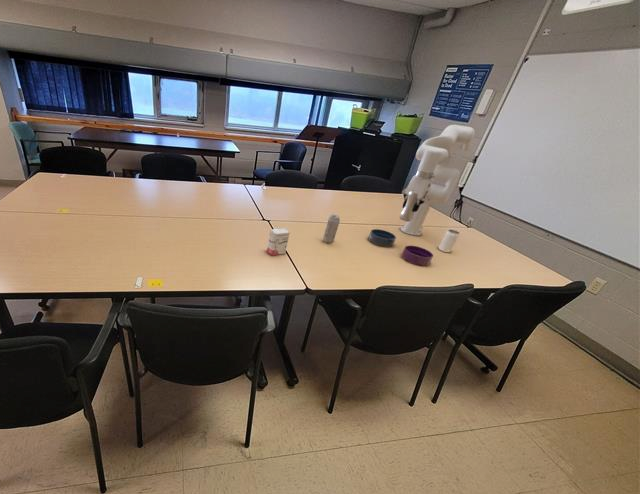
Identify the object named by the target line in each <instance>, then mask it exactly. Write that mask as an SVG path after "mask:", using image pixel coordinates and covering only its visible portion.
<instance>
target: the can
mask: <svg viewBox="0 0 640 494" xmlns="http://www.w3.org/2000/svg"><path fill="white" fill-rule="evenodd" d="M459 236H460V232H459V231H457V230H454V229H448V230H447V231H446V233H445V234H444V236H443V238H442V240H441V242H440V244H439V246H438V250H440V251H441V252H443V253H451V251H452V250H453V248H454V246H455V244H456V242H457V240H458V238H459Z"/></svg>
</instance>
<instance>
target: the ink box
mask: <svg viewBox="0 0 640 494" xmlns="http://www.w3.org/2000/svg"><path fill="white" fill-rule="evenodd" d="M289 237H290V231H288V229H286V228H284V227H283V228H272V229H270V231H269V236H268V242H267V248H266V252H267V253H268V254H269V255H271V256H276V255H283V254H286V252H287V248H288V247H287V246H288V242H289Z"/></svg>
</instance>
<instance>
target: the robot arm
mask: <svg viewBox="0 0 640 494" xmlns="http://www.w3.org/2000/svg"><path fill="white" fill-rule="evenodd" d="M475 136H476V132H475V128H473V127H471V126H466V125H461V124H450V125H447V126H446V128H444V129H443V131H442V132H441V133H440V135H438V136H433V137H430V138H427V139H426V140H424V141H423V142H422V143H421V145H420V146H419V147H418V149H417V150H416V153H415V159H416V160H418V161H420V163H419V165H418V166H417V170H416V173H415V175H413V176H412V178H411V179H410V181H409V183H408V185H407V187H406V188H405V189H403V190H402V191H401V193H402V196H403V200H404V202H403V204H402V208H403V209H404V207H405V205H406V202H407V199H408V195H409V192H410V191H412V190H415V191H416V192H417V195H418V196H417V204H415V206H414V208H413V212H414V217H413V219H412V220H411V221H409V222H408V221H405V224H404V226H401V227H400V231H402V232H403V233H405V234H406V235H410V236H421V235H422V231H420V230H421V229H424V225H423V224H424V222H425V220H426V217H427V215H428V213H429V211H430V210H431V209H430V208H431V206H430V202H434V203H437V204H442V205H443V204H445V203H447V202H448V200H449V198H450V196H451V194H452V192H453V191H454V188H455V187H456V184H457V182H458V180H459V178H460V174H461V172H460V170H459V169H458V168H454V167H451V166H450V165H451V163H452V161H453V153H452V151H451V150H454V151H458V152H468V151H469V150H470V149H471V148H472V146H473V144H474V141H475ZM433 182H434V183H438V184H434V183H433ZM440 184H442V185H440Z"/></svg>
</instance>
